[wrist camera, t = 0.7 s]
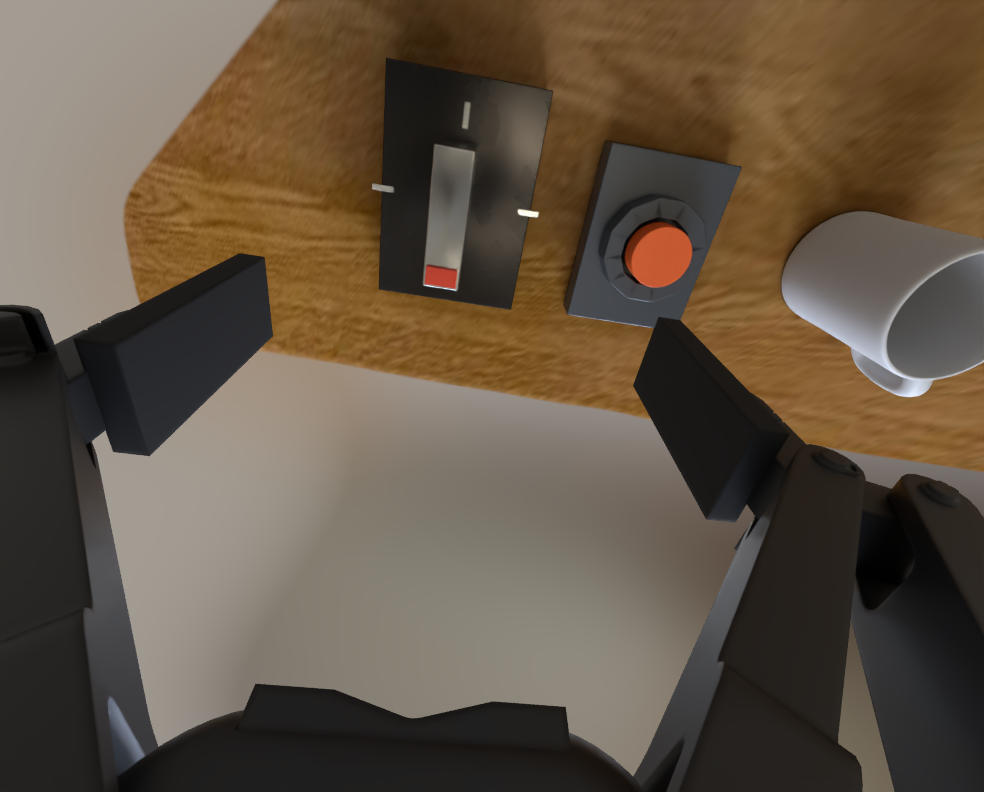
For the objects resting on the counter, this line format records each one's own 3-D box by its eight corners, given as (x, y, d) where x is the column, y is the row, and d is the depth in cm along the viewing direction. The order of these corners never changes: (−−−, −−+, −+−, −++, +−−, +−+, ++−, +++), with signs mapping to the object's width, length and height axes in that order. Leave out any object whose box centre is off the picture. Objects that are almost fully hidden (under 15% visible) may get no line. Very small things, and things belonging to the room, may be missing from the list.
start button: (635, 216, 30) (642, 221, 29) (691, 226, 30) (702, 232, 29) (617, 275, 32) (623, 282, 31) (670, 284, 32) (679, 291, 31)
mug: (776, 235, 34) (885, 278, 25) (899, 191, 33) (1065, 219, 23) (783, 365, 40) (873, 440, 31) (888, 333, 38) (1016, 401, 29)
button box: (605, 140, 31) (619, 142, 27) (727, 164, 32) (756, 168, 28) (563, 305, 37) (570, 323, 34) (666, 321, 38) (684, 341, 34)
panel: (385, 61, 29) (374, 55, 26) (556, 95, 30) (563, 92, 27) (378, 276, 36) (369, 289, 33) (516, 298, 37) (518, 311, 34)
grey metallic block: (447, 138, 28) (433, 143, 21) (479, 144, 28) (475, 151, 21) (436, 250, 32) (421, 287, 25) (464, 255, 32) (457, 292, 25)
